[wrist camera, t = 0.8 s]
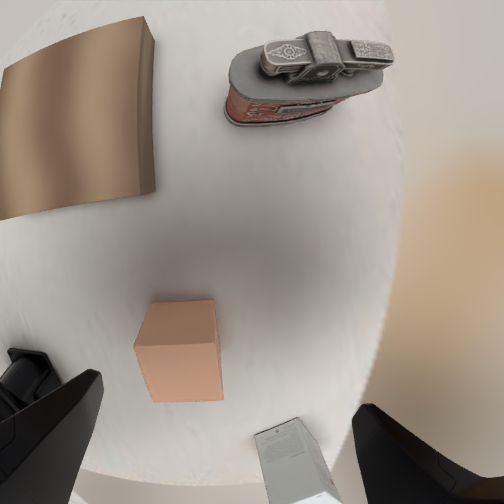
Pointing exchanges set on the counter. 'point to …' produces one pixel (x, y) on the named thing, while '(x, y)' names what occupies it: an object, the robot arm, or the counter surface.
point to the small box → (294, 466)
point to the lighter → (301, 78)
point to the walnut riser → (78, 121)
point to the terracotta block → (181, 352)
